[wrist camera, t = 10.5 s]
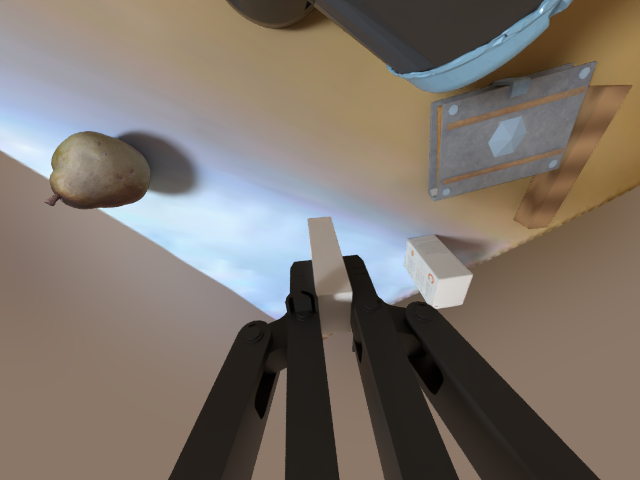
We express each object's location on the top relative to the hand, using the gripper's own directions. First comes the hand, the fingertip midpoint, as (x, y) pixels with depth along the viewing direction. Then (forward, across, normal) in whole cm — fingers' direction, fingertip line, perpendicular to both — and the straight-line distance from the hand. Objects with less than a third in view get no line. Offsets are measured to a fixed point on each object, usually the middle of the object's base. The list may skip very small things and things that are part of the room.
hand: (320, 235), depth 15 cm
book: (+27, +32, -1) cm, 42 cm away
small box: (+27, +24, -24) cm, 43 cm away
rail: (+26, +46, -6) cm, 53 cm away
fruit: (+27, -28, 0) cm, 39 cm away
